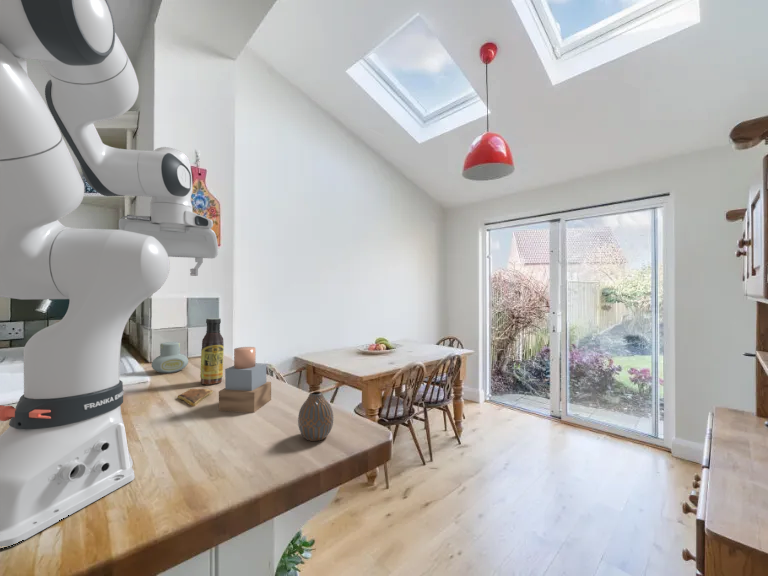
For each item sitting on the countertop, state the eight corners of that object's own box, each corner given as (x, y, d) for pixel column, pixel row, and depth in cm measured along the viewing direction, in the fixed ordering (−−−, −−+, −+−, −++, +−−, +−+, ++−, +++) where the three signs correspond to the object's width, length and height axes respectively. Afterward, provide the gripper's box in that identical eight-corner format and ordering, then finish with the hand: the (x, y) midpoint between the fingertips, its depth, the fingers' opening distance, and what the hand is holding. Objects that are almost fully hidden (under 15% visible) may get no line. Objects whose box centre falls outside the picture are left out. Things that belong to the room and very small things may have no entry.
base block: (254, 413, 82) (254, 392, 82) (218, 412, 83) (218, 391, 83) (271, 400, 91) (271, 381, 91) (239, 399, 92) (238, 380, 92)
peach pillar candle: (250, 369, 84) (249, 350, 84) (230, 368, 84) (230, 350, 84) (258, 364, 89) (258, 346, 89) (240, 364, 89) (240, 346, 89)
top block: (251, 390, 83) (251, 370, 83) (225, 389, 84) (225, 369, 84) (266, 382, 90) (266, 363, 90) (241, 381, 91) (241, 362, 91)
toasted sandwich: (194, 408, 85) (194, 401, 85) (162, 409, 85) (162, 402, 85) (214, 394, 96) (214, 388, 96) (186, 395, 96) (186, 388, 96)
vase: (340, 434, 70) (340, 390, 70) (317, 448, 64) (317, 400, 64) (314, 426, 73) (314, 385, 73) (290, 439, 67) (290, 394, 67)
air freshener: (185, 366, 127) (185, 339, 127) (190, 371, 121) (190, 342, 121) (150, 371, 120) (150, 343, 120) (153, 376, 114) (153, 346, 114)
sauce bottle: (202, 386, 102) (202, 319, 102) (198, 382, 107) (197, 318, 107) (226, 382, 106) (226, 318, 106) (221, 378, 111) (220, 317, 111)
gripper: (118, 210, 75) (119, 274, 75) (219, 221, 88) (219, 275, 88) (118, 215, 80) (118, 274, 80) (213, 225, 93) (214, 276, 93)
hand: (172, 275), depth 84 cm, fingers open, 8 cm apart
